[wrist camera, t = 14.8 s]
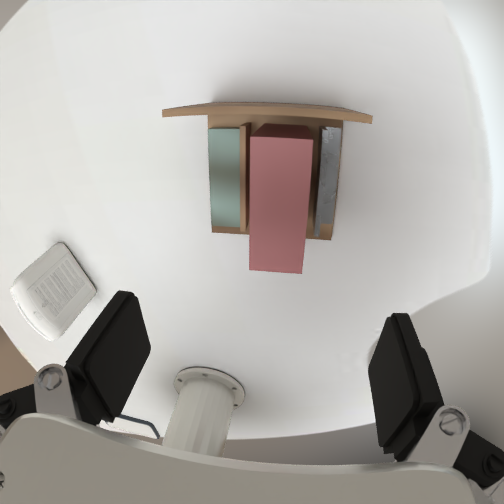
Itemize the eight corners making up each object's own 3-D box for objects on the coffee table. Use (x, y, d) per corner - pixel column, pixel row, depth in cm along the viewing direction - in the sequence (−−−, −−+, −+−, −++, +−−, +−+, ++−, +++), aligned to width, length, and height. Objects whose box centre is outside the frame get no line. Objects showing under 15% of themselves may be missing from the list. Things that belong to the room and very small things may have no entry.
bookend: (331, 223, 31) (335, 238, 28) (312, 221, 32) (313, 236, 28) (341, 128, 26) (347, 132, 23) (319, 126, 27) (322, 129, 24)
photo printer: (49, 247, 40) (-1, 292, 29) (63, 237, 38) (9, 284, 28) (86, 299, 44) (46, 351, 33) (101, 292, 42) (59, 347, 32)
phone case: (152, 420, 62) (98, 405, 64) (150, 425, 61) (96, 410, 63) (161, 435, 67) (110, 422, 69) (160, 440, 65) (108, 426, 67)
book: (300, 221, 32) (301, 273, 23) (262, 218, 32) (249, 269, 23) (306, 125, 27) (313, 139, 18) (264, 123, 27) (250, 136, 19)
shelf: (330, 236, 33) (343, 304, 23) (214, 228, 35) (179, 291, 24) (342, 107, 26) (372, 115, 16) (210, 102, 28) (162, 109, 17)
